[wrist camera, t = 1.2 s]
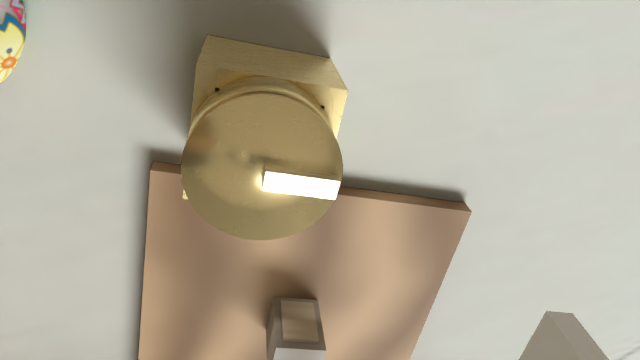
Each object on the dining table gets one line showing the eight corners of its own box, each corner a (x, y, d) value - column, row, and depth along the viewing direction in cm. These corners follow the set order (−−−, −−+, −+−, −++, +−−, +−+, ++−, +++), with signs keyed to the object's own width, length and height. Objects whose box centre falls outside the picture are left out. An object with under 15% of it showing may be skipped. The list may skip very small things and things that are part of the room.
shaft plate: (138, 392, 33) (121, 463, 29) (153, 161, 25) (133, 212, 21) (383, 401, 37) (401, 465, 33) (465, 202, 29) (502, 253, 25)
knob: (194, 149, 25) (172, 239, 18) (206, 34, 23) (186, 88, 16) (306, 165, 27) (325, 254, 20) (330, 58, 24) (362, 117, 17)
